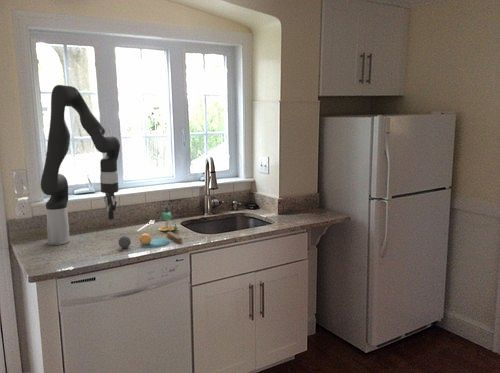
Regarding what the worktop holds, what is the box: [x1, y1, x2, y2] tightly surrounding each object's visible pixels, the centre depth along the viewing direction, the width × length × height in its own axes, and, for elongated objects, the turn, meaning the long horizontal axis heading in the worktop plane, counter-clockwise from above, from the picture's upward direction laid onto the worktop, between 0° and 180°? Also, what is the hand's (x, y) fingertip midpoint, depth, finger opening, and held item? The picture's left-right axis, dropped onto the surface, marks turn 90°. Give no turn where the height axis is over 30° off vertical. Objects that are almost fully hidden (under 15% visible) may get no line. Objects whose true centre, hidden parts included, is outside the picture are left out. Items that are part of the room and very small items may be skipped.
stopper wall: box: [166, 231, 183, 245], centre depth 217 cm, size 2×14×2 cm, turn 32°
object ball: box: [139, 232, 152, 245], centre depth 209 cm, size 6×6×6 cm
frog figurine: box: [158, 204, 180, 234], centre depth 235 cm, size 10×18×15 cm, turn 31°
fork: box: [136, 219, 155, 232], centre depth 243 cm, size 3×20×2 cm, turn 169°
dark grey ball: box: [118, 235, 132, 249], centre depth 205 cm, size 6×6×6 cm
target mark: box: [139, 238, 171, 249], centre depth 212 cm, size 14×14×1 cm
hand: (110, 219), depth 199 cm, fingers closed
